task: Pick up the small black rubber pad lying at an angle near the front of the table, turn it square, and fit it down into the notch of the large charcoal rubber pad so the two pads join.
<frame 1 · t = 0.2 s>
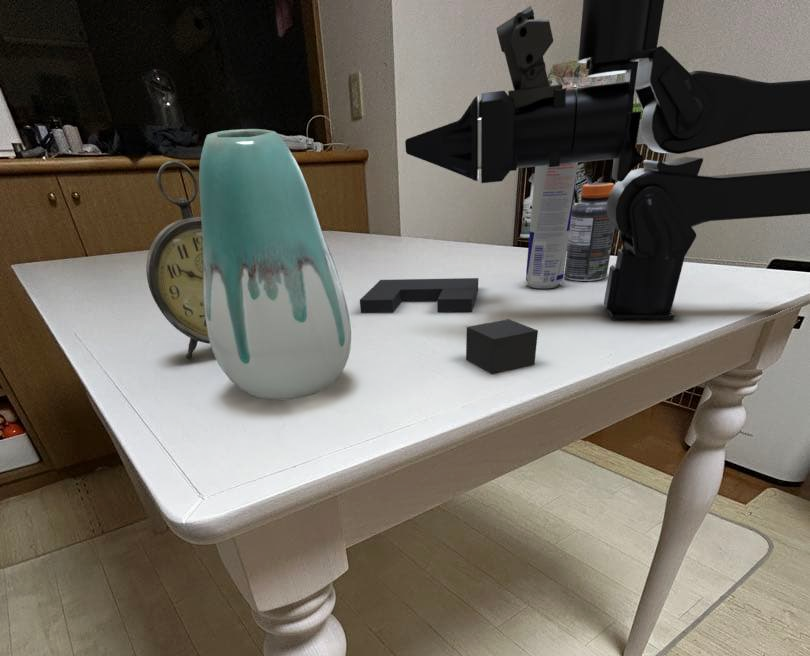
hand: (412, 144, 52), 17 cm above the table, tool horizontal, fingers open, 9 cm apart
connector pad: (499, 361, 48), on the table
vase: (292, 388, 46), on the table
pill bottle: (584, 278, 75), on the table
base pad: (422, 300, 68), on the table
alarm clock: (228, 349, 55), on the table, touching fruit
beverage can: (543, 287, 72), on the table
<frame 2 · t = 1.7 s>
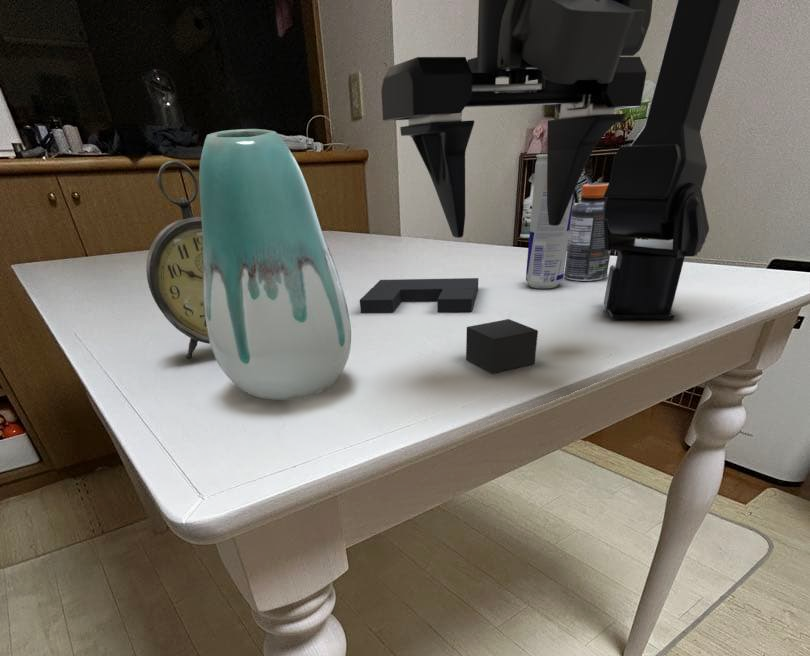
hand: (507, 231, 41), 11 cm above the table, tool pointing down, fingers open, 9 cm apart
nothing on the table moved.
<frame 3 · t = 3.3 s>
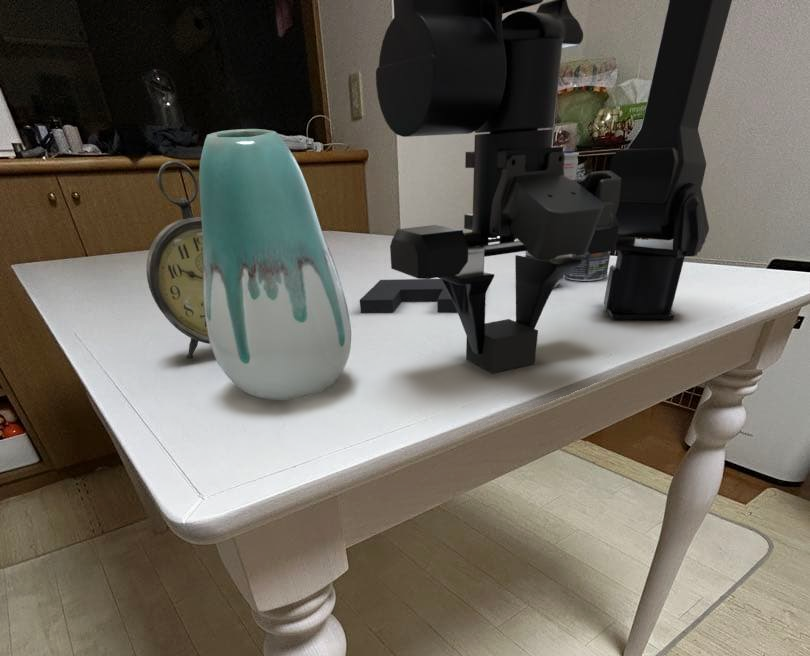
hand: (500, 348, 47), 1 cm above the table, tool pointing down, fingers closed on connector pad, 4 cm apart
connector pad: (499, 361, 48), on the table, touching gripper
everything else where it was.
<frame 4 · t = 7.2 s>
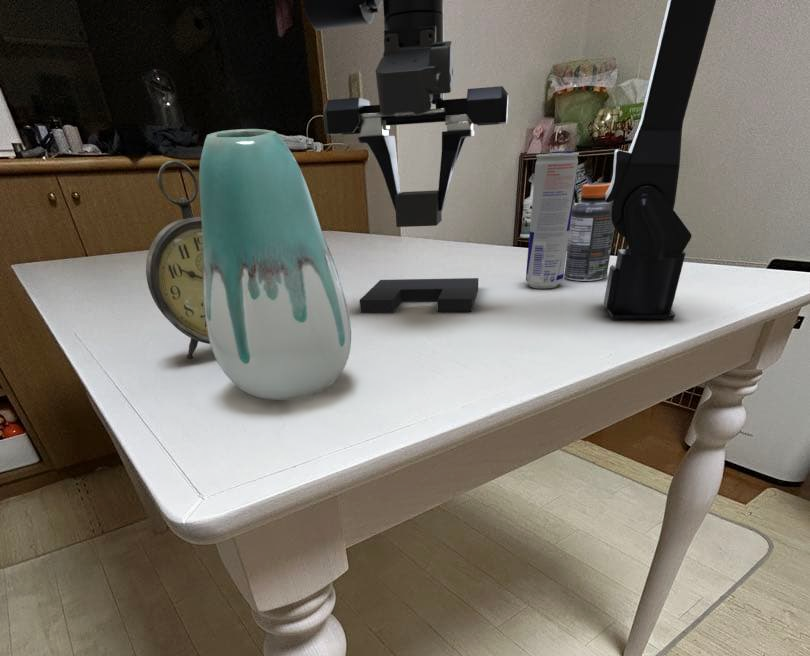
hand: (419, 211, 58), 10 cm above the table, tool pointing down, fingers closed on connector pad, 4 cm apart
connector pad: (419, 223, 59), point 9 cm above the table, touching gripper
everything else where it was.
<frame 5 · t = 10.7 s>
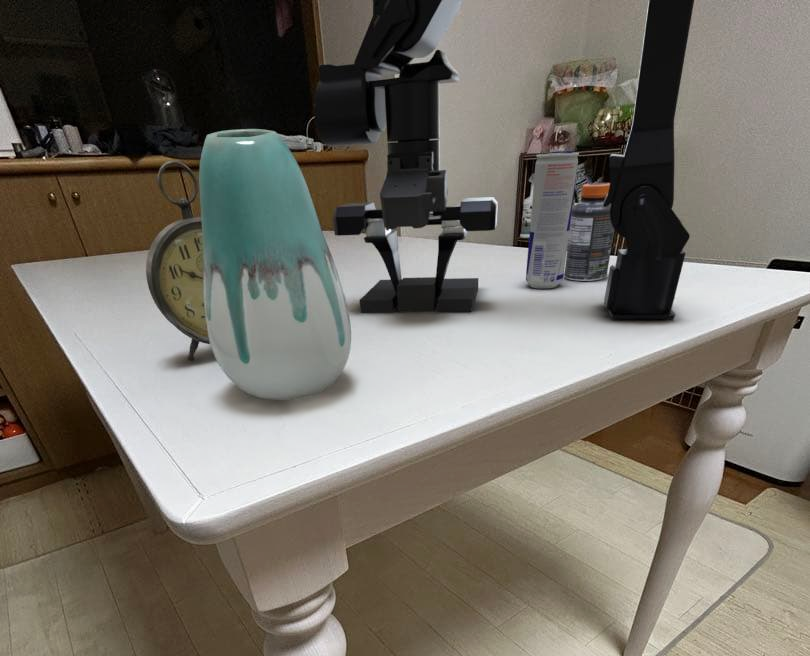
hand: (418, 296, 65), 1 cm above the table, tool pointing down, fingers closed on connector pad, 4 cm apart
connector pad: (418, 306, 66), on the table, touching gripper
everything else where it was.
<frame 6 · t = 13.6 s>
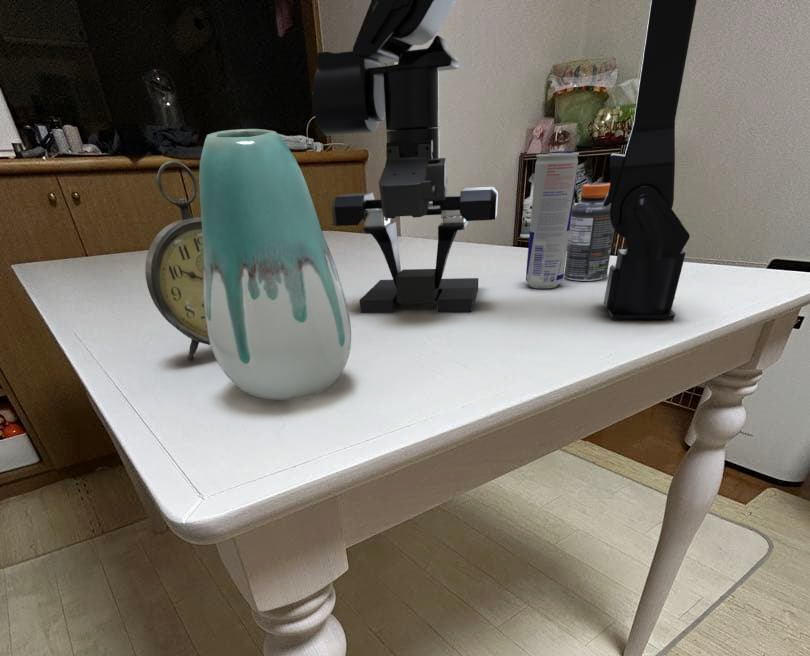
hand: (417, 288, 64), 2 cm above the table, tool pointing down, fingers closed on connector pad, 5 cm apart
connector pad: (418, 298, 65), point 1 cm above the table, touching gripper
alarm clock: (228, 350, 55), on the table, touching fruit
everything else where it was.
when the fingers open (3 cm above the table, at t = 16.2 s): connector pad drops 1 cm, on the table.
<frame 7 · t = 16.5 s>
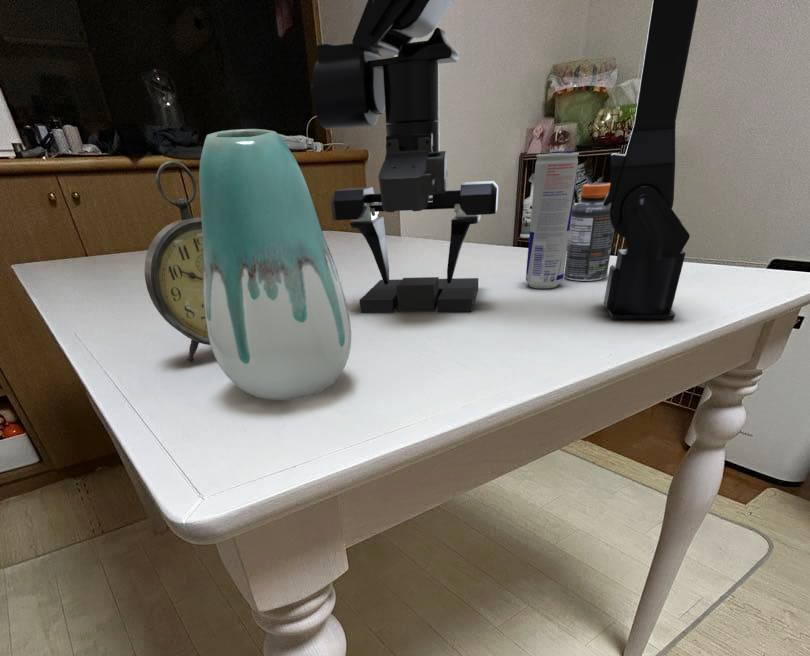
hand: (417, 283, 64), 3 cm above the table, tool pointing down, fingers open, 8 cm apart
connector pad: (418, 306, 66), on the table
everything else where it was.
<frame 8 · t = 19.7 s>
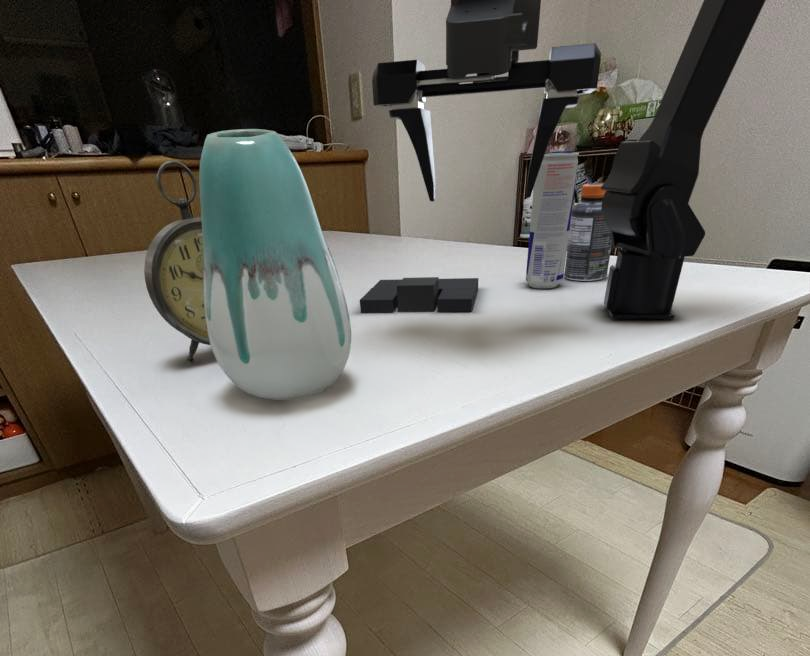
hand: (479, 199, 49), 12 cm above the table, tool pointing down, fingers open, 9 cm apart
alarm clock: (227, 351, 55), on the table, touching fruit
everything else where it was.
at the end: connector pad 0.1 cm from the target spot on the base pad, point 0.0 cm above the base pad's base; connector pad tilted 0°; the gripper is holding nothing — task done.
